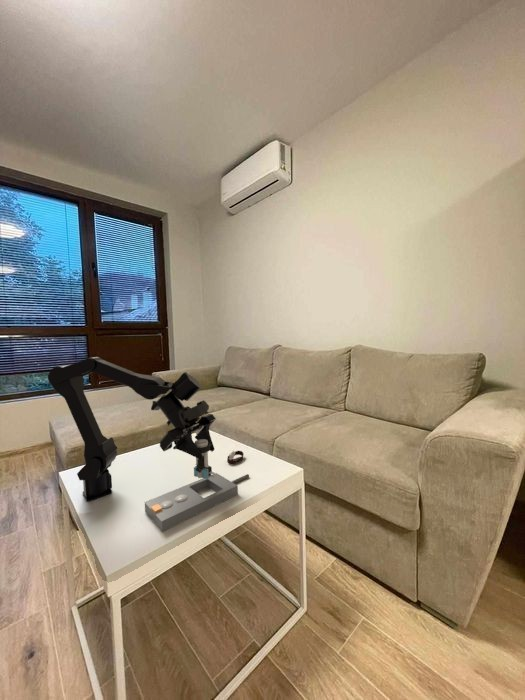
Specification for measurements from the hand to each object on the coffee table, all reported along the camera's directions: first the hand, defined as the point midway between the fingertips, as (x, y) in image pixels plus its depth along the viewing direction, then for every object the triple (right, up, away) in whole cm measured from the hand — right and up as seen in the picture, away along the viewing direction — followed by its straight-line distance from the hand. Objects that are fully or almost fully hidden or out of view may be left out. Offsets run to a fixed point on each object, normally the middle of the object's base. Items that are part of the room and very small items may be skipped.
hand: (207, 454), depth 79 cm
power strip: (0, -12, +1) cm, 12 cm away
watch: (+6, -11, +24) cm, 27 cm away
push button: (-1, -7, +1) cm, 7 cm away
